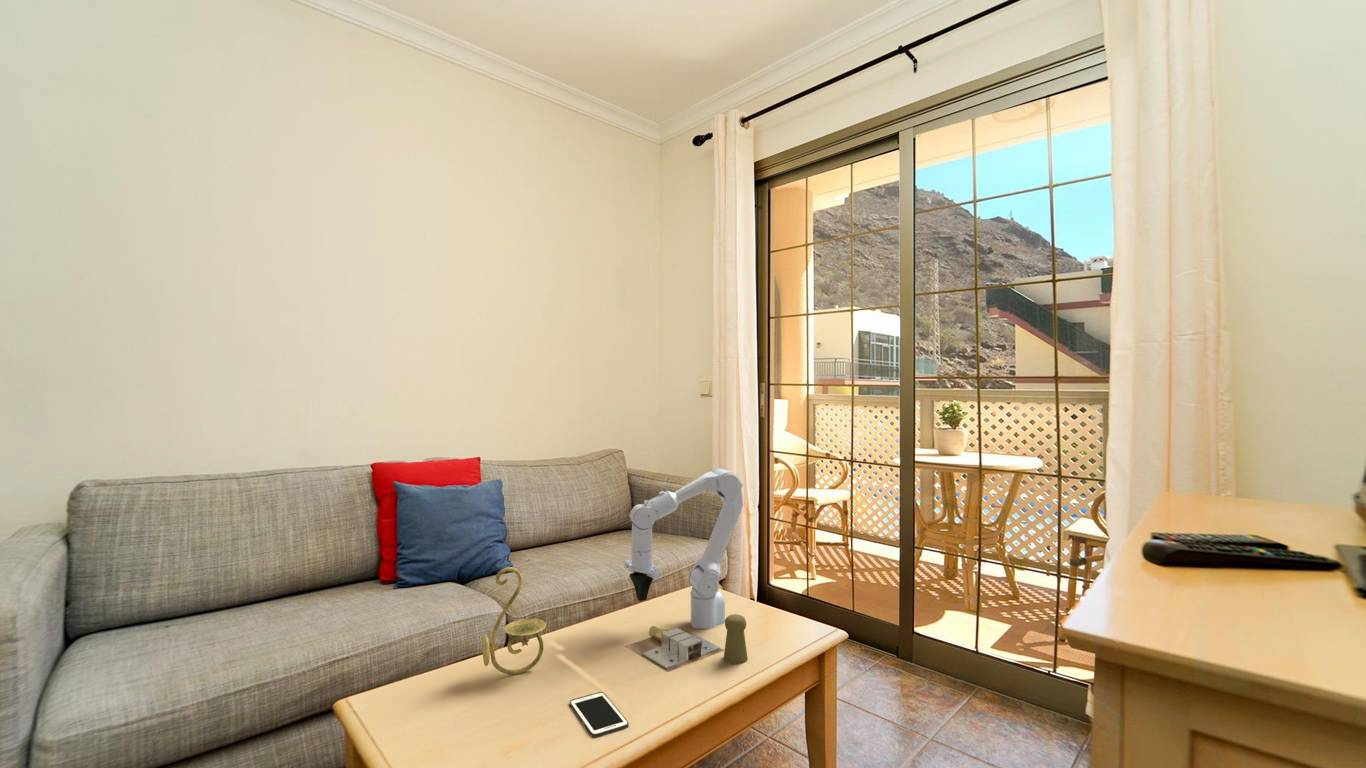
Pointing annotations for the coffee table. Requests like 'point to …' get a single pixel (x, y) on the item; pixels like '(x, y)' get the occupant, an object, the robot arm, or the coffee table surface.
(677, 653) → the hinge leaves
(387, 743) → the coffee table surface
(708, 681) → the coffee table surface
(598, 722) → the cell phone
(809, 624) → the coffee table surface
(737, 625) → the olive green pawn
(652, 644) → the board
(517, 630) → the wall sconce
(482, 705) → the coffee table surface
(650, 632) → the pin
